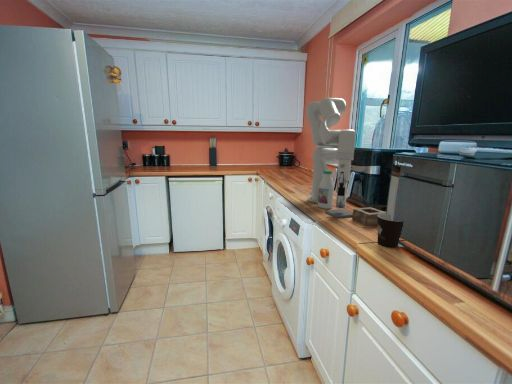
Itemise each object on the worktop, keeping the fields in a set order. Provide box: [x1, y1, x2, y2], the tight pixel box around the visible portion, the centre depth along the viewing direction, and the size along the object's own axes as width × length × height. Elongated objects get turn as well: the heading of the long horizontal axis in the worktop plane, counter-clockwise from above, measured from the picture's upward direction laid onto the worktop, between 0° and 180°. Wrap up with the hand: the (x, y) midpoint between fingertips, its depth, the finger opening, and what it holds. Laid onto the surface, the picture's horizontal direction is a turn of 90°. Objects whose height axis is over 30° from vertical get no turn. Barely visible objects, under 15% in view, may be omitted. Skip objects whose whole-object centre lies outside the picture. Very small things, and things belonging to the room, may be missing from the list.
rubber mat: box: [324, 208, 353, 219], centre depth 127 cm, size 10×10×1 cm
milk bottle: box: [317, 169, 335, 210], centre depth 138 cm, size 8×8×20 cm
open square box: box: [351, 206, 387, 227], centre depth 117 cm, size 10×10×5 cm
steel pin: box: [335, 180, 349, 209], centre depth 125 cm, size 4×4×13 cm
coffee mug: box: [377, 213, 404, 249], centre depth 92 cm, size 12×9×10 cm
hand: (341, 194), depth 125 cm, fingers closed on steel pin, 4 cm apart
